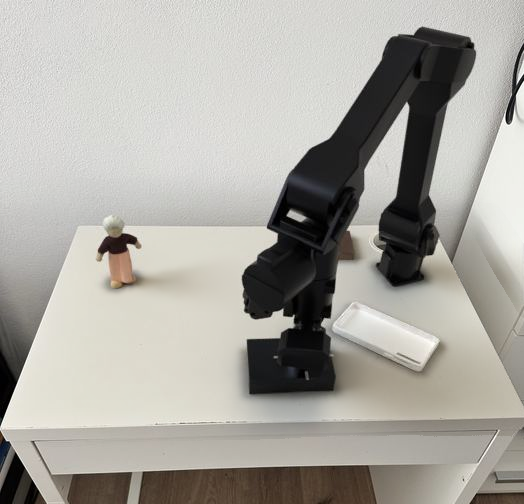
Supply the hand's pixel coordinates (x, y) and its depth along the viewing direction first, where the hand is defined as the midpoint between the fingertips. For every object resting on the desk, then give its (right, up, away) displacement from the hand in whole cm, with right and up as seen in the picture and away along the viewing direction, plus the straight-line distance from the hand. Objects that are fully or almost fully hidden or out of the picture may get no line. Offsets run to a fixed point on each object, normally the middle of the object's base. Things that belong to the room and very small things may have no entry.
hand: (303, 354), depth 76 cm
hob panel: (-2, -3, +2) cm, 4 cm away
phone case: (+13, +2, +8) cm, 15 cm away
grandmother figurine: (-29, +12, +16) cm, 36 cm away
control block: (+5, +19, +24) cm, 31 cm away
